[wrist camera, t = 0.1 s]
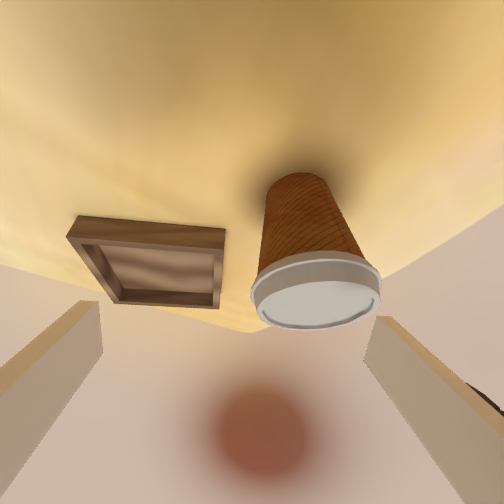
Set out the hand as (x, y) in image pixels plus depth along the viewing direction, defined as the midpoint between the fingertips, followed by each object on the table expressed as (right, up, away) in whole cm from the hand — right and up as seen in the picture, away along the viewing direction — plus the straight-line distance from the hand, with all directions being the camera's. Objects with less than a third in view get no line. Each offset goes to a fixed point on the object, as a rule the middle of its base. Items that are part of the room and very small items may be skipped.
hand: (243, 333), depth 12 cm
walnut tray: (-12, +2, +22) cm, 25 cm away
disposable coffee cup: (+5, +9, +13) cm, 17 cm away
